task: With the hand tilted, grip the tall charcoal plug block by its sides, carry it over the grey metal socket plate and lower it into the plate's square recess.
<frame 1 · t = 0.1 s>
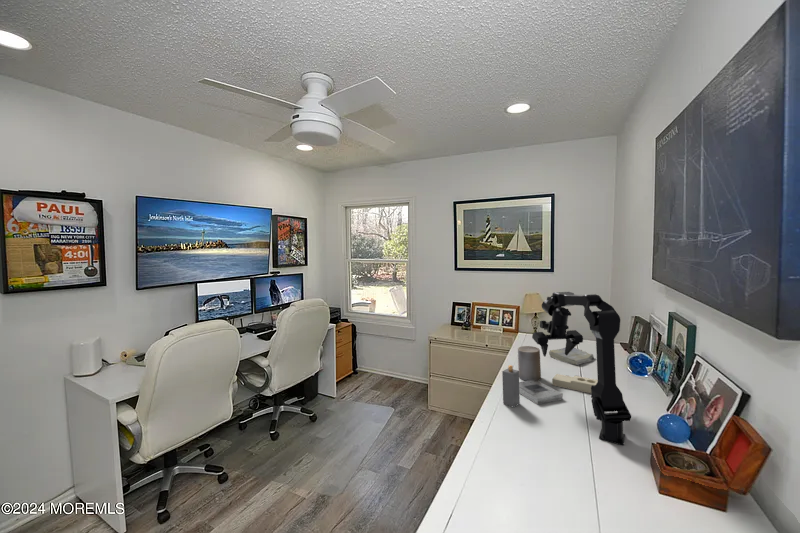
hand: (555, 355, 139), 15 cm above the table, tool pointing down, fingers open, 9 cm apart
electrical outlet: (576, 388, 143), on the table
socket plate: (536, 393, 138), on the table
fossil: (572, 359, 180), on the table
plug: (511, 403, 130), on the table
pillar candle: (529, 378, 155), on the table
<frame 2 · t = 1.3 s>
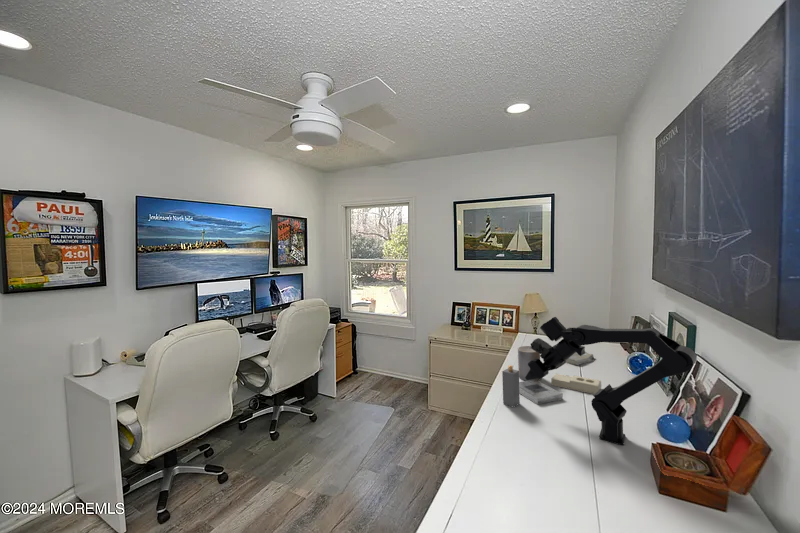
hand: (532, 375, 124), 13 cm above the table, tool tilted 45°, fingers open, 9 cm apart
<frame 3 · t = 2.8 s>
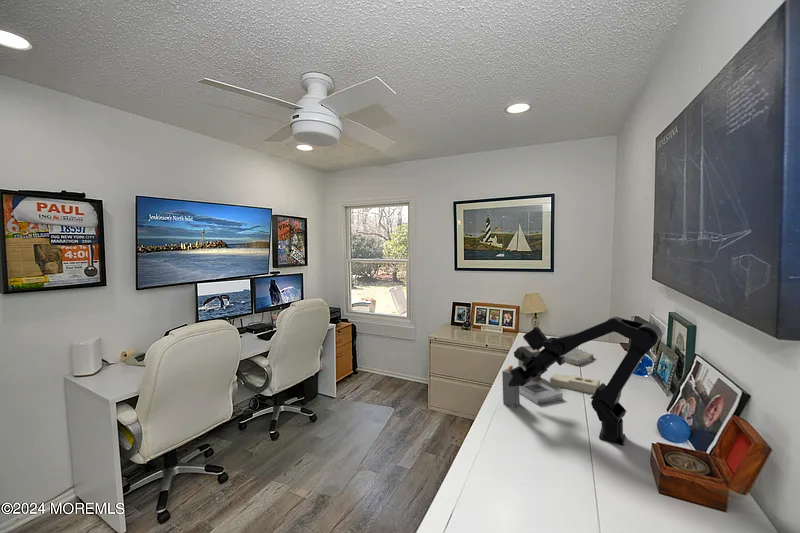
hand: (515, 381, 129), 9 cm above the table, tool tilted 45°, fingers open, 9 cm apart
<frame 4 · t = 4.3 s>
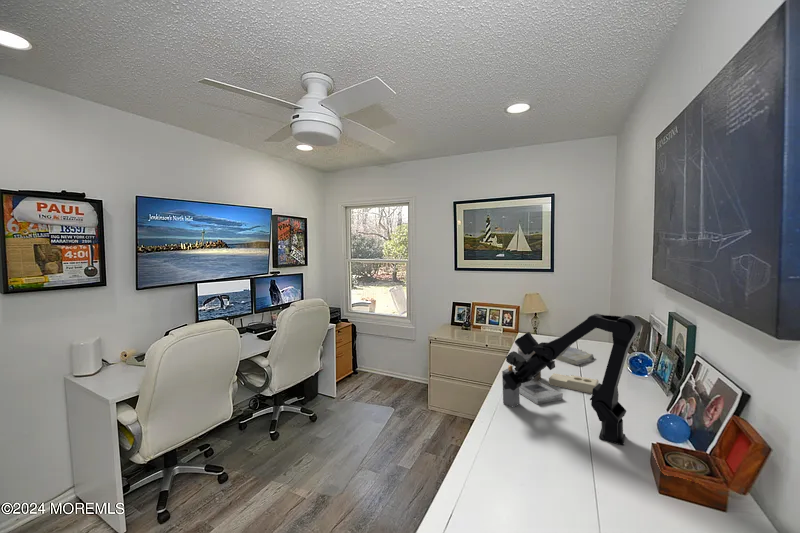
hand: (507, 386, 131), 7 cm above the table, tool tilted 45°, fingers closed on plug, 4 cm apart
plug: (511, 403, 130), on the table, touching gripper
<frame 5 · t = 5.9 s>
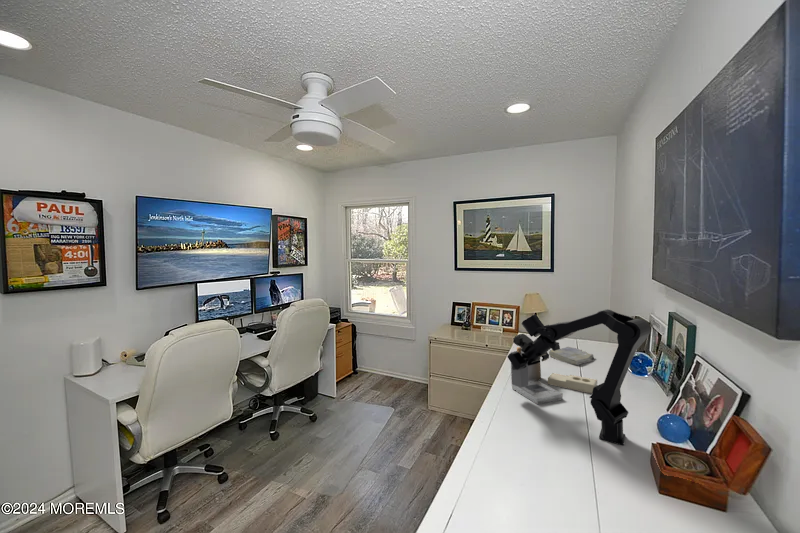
hand: (516, 367, 135), 12 cm above the table, tool tilted 45°, fingers closed on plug, 4 cm apart
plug: (519, 384, 134), point 6 cm above the table, touching gripper
when the fingers open (8 cm above the table, at t = 7.8 s): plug stays where it is, resting on socket plate.
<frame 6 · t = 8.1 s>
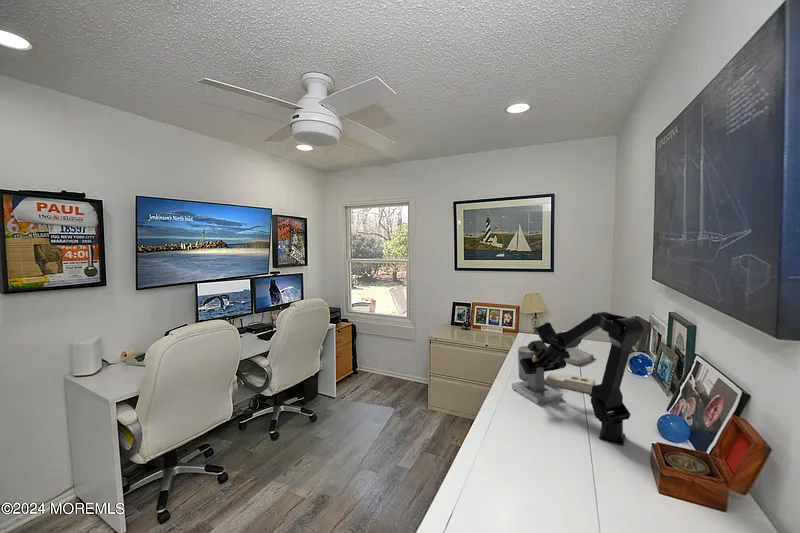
hand: (533, 372, 139), 9 cm above the table, tool tilted 45°, fingers open, 7 cm apart
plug: (536, 391, 138), point 1 cm above the table, touching socket plate
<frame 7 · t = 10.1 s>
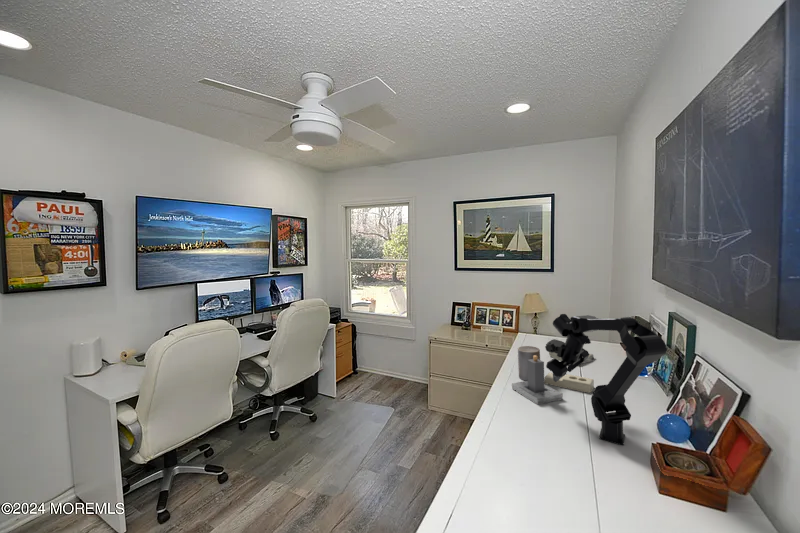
hand: (561, 376, 128), 11 cm above the table, tool tilted 25°, fingers open, 9 cm apart
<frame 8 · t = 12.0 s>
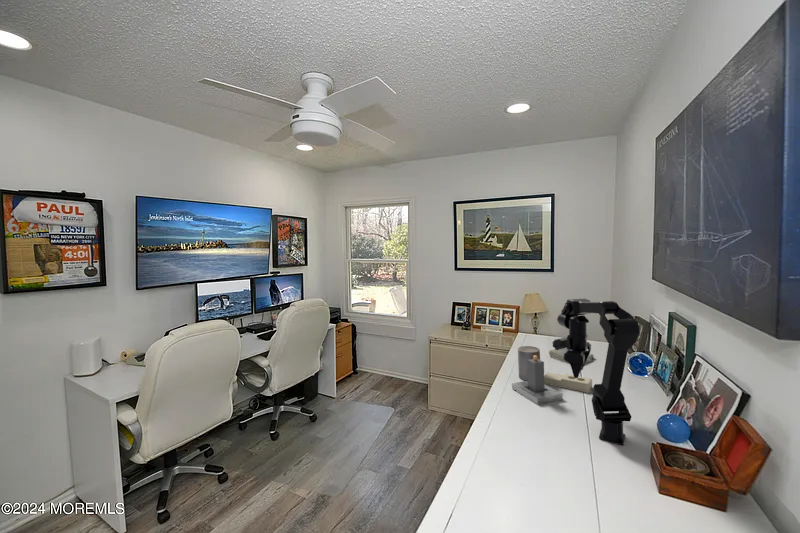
hand: (578, 373, 124), 13 cm above the table, tool pointing down, fingers open, 9 cm apart
at the end: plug 0.0 cm from the socket plate (horizontally); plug point 0.9 cm above the table; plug tilted 0° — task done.
